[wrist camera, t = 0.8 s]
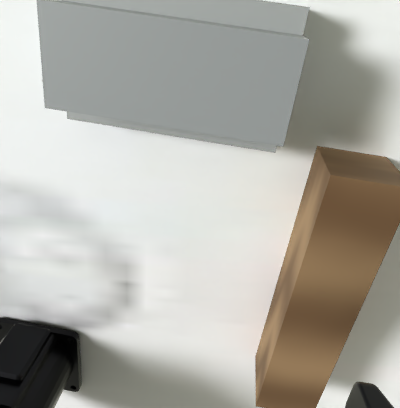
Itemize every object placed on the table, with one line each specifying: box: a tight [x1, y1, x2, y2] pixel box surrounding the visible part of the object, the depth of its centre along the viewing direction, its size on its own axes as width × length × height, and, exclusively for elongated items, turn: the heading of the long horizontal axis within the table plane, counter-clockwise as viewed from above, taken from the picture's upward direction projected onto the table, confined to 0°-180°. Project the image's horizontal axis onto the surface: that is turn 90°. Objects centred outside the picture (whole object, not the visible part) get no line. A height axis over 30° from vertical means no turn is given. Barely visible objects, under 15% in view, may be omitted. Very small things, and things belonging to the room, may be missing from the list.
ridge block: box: [37, 0, 310, 153], centre depth 16 cm, size 6×10×4 cm, turn 83°
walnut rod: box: [256, 146, 400, 408], centre depth 21 cm, size 16×4×4 cm, turn 173°
